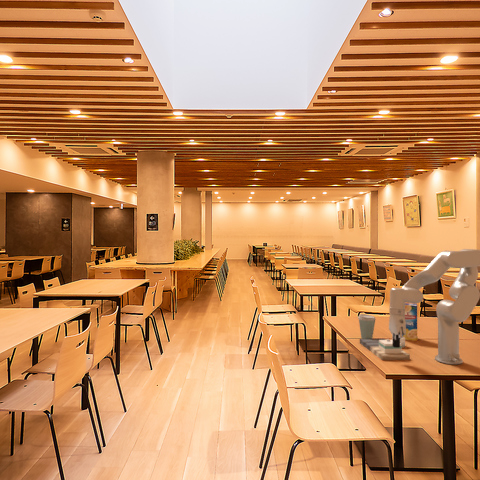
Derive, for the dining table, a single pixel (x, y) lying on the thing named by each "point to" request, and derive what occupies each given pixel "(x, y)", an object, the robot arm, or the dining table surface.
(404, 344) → the white domed cylinder
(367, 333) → the disposable coffee cup
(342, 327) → the dining table surface
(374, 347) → the beige flat board
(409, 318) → the beverage box
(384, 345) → the carton
